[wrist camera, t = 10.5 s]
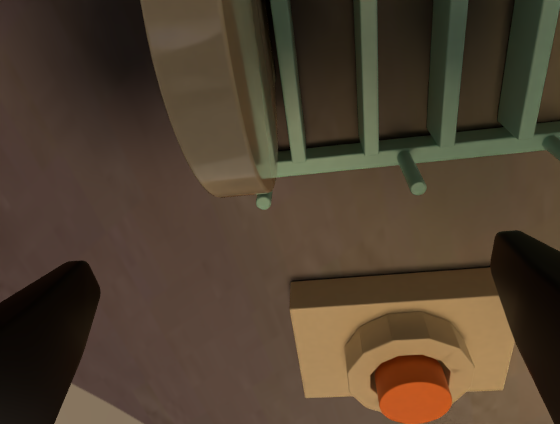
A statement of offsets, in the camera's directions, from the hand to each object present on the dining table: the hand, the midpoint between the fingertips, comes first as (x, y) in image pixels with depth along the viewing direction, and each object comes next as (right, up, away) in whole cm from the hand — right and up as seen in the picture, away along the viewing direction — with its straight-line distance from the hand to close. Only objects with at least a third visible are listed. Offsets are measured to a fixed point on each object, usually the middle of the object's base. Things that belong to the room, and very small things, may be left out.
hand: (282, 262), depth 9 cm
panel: (+7, -6, +16) cm, 19 cm away
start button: (+7, -8, +13) cm, 17 cm away
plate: (-1, +9, +7) cm, 12 cm away
